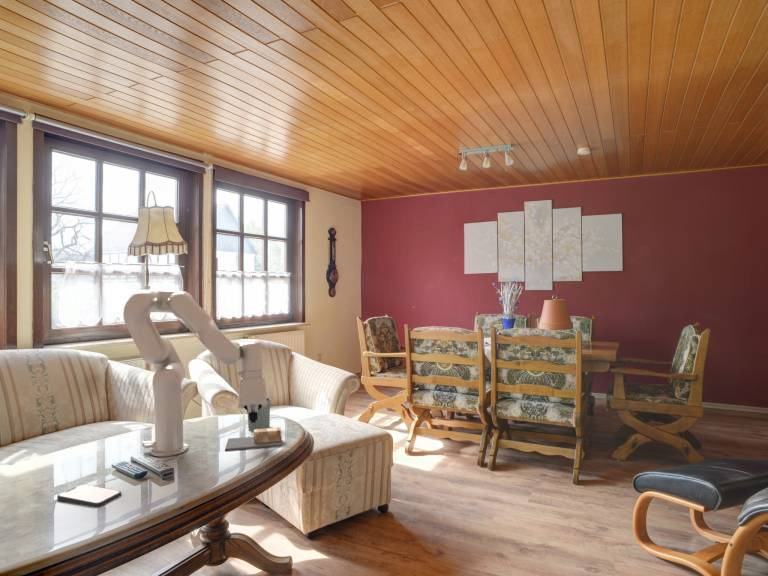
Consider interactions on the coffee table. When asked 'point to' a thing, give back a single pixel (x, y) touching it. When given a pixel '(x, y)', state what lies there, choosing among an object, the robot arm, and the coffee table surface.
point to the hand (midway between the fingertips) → (253, 422)
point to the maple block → (267, 435)
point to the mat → (248, 443)
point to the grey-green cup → (261, 417)
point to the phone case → (89, 495)
